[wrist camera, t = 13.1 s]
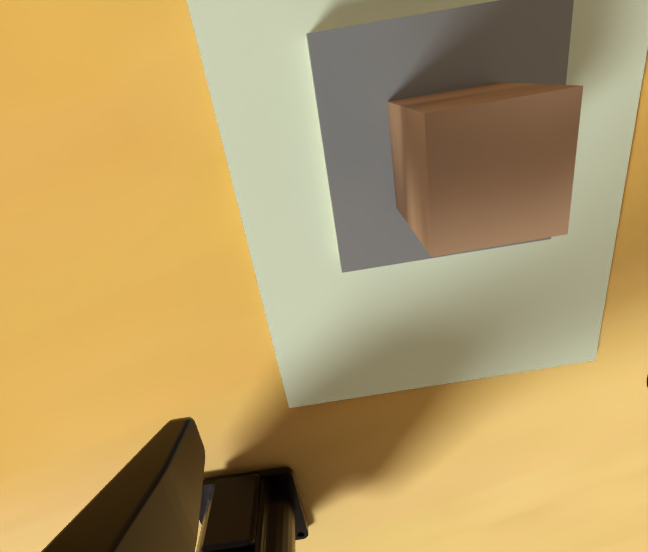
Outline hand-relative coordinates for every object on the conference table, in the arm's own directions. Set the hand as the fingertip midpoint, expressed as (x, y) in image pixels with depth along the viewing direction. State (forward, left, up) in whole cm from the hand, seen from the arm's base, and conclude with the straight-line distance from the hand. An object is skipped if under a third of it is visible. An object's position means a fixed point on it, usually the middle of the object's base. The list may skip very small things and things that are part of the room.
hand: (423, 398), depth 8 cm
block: (+3, -4, -10) cm, 11 cm away
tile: (+3, +1, -11) cm, 11 cm away
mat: (+1, -4, -12) cm, 12 cm away
